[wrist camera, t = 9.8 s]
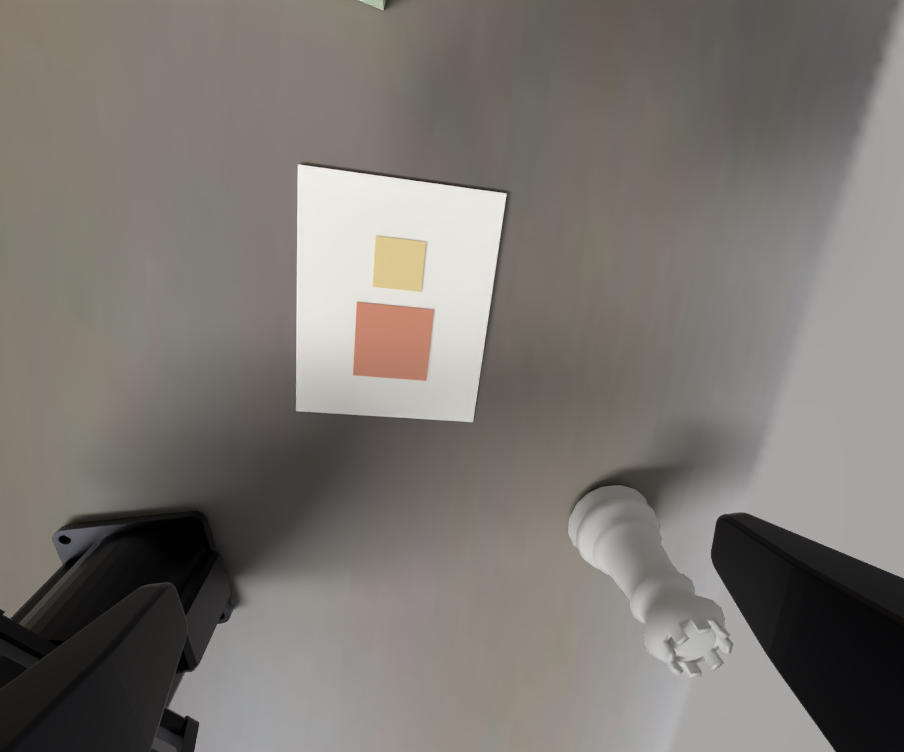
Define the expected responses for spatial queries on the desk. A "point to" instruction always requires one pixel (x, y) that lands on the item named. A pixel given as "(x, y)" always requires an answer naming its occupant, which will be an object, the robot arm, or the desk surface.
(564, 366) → the desk surface
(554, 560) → the desk surface
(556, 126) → the desk surface
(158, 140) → the desk surface
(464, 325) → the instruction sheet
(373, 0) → the baseplate
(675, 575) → the rook chess piece
